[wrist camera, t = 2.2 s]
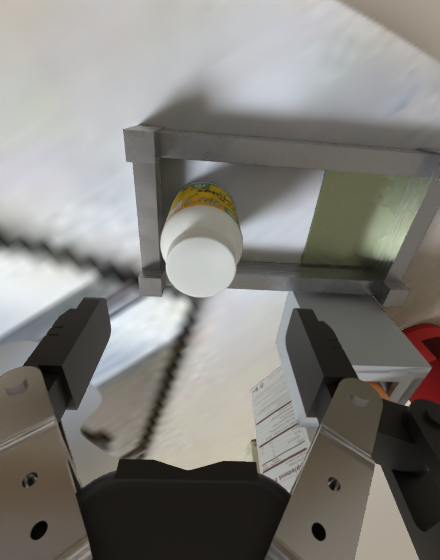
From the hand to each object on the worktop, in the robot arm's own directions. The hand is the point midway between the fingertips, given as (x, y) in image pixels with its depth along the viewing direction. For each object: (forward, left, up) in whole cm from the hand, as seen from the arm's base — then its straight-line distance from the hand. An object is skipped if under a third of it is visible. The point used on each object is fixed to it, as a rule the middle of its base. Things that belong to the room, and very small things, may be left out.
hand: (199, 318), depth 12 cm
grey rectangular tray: (+6, 0, -14) cm, 15 cm away
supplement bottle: (0, 0, -14) cm, 14 cm away
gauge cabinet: (+13, -11, -14) cm, 22 cm away
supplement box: (+12, -23, -14) cm, 29 cm away
